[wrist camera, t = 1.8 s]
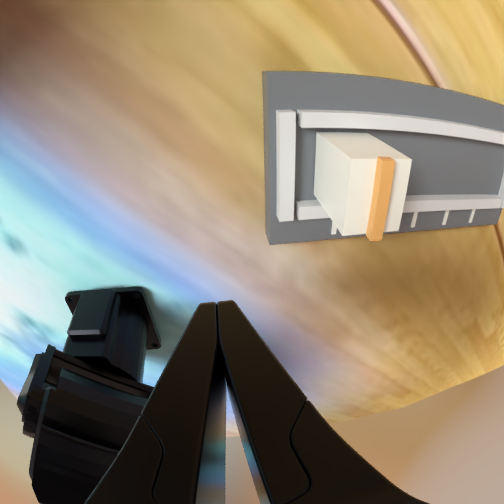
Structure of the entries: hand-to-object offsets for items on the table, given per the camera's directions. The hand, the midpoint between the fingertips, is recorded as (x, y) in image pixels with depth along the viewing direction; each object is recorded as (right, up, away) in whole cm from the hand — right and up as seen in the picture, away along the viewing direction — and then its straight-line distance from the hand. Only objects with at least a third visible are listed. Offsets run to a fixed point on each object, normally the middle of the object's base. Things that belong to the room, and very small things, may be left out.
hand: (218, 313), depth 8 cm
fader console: (+11, +8, +11) cm, 17 cm away
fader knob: (+6, +6, +9) cm, 12 cm away
